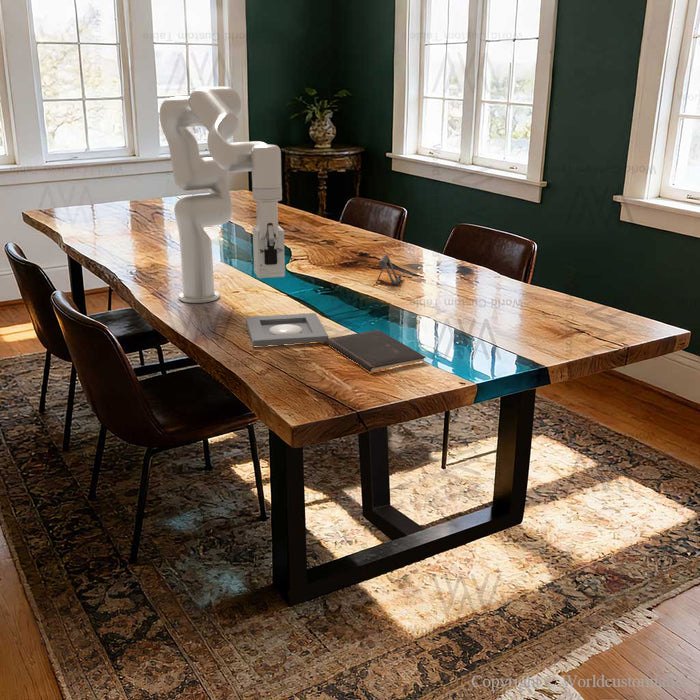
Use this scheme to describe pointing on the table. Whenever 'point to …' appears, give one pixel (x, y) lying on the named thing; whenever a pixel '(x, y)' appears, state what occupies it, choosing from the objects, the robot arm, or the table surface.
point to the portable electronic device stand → (383, 264)
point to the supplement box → (259, 257)
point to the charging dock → (285, 329)
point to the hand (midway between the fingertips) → (269, 260)
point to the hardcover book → (374, 350)
